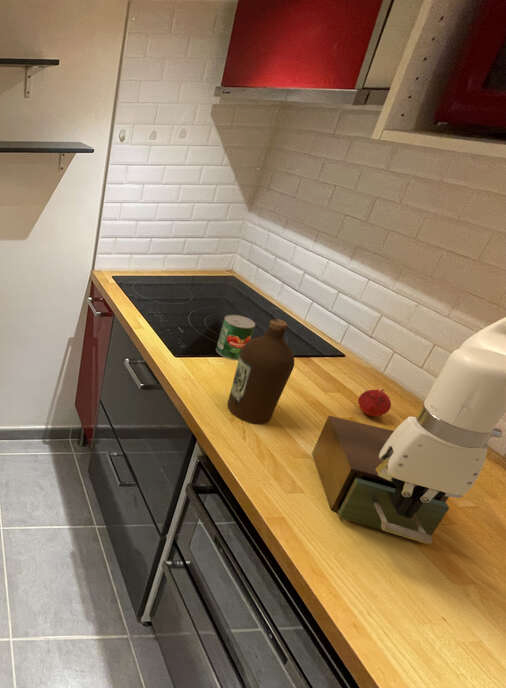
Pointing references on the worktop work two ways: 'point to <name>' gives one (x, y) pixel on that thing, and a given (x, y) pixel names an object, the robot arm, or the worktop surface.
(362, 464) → the cabinet
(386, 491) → the drawer
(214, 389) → the worktop surface
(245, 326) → the canned tomato
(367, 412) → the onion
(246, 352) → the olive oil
